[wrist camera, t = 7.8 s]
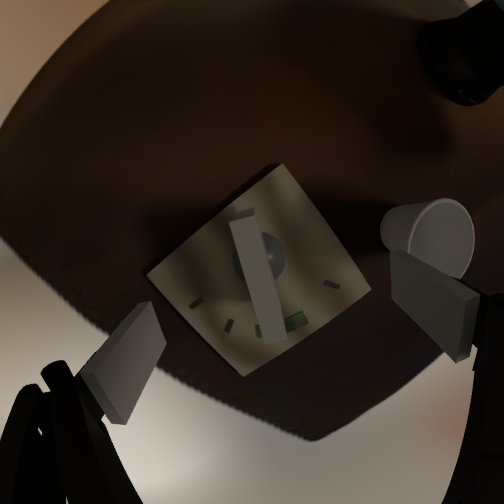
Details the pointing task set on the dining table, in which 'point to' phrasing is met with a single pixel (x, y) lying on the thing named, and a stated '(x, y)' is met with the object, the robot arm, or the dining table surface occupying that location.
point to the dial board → (287, 284)
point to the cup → (432, 234)
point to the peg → (259, 271)
